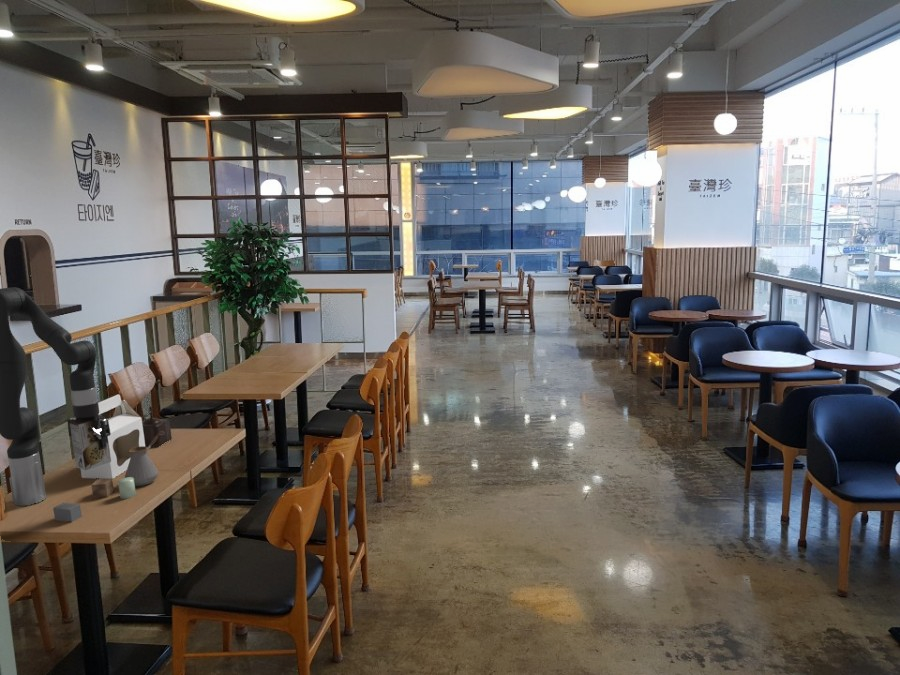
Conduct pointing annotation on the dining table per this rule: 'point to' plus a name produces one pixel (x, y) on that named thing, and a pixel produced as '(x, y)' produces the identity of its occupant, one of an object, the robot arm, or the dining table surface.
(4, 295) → the robot arm
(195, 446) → the dining table surface
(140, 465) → the coffee pot
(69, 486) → the dining table surface
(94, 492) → the walnut cube
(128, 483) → the sage cylinder
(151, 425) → the manual coffee grinder
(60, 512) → the charcoal block
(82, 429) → the coffee box
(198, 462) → the dining table surface
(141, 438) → the gable box
